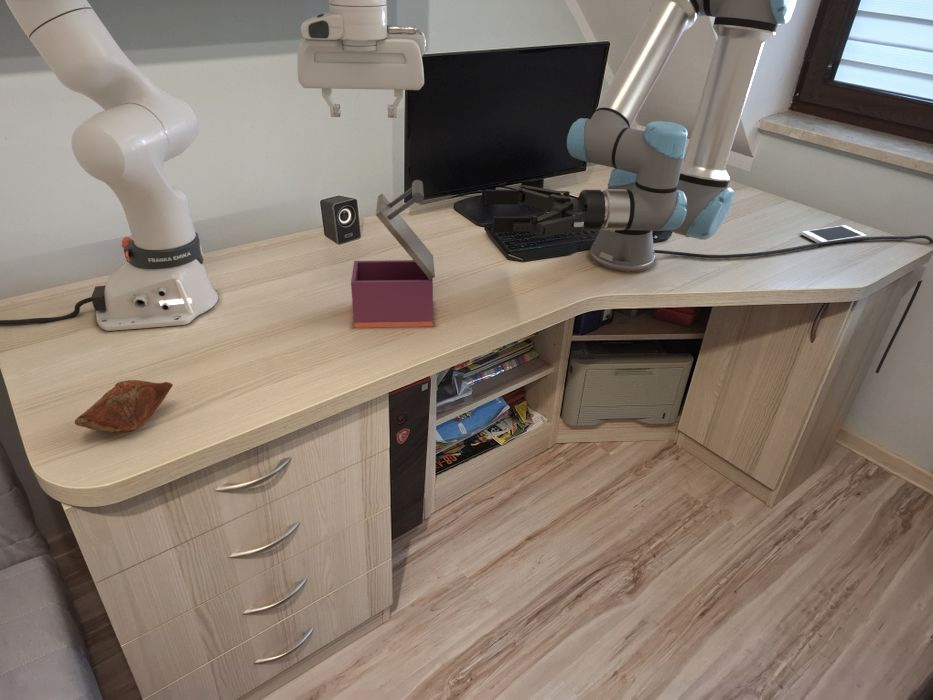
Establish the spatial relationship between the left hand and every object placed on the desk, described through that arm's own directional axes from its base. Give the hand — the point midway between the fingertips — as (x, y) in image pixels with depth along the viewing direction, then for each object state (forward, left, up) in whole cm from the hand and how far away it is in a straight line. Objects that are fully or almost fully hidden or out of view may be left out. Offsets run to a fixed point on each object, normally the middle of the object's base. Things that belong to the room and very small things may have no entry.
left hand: (364, 116), depth 107 cm
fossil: (-45, -19, -39) cm, 62 cm away
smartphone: (+125, -3, -39) cm, 131 cm away
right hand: (+21, -7, -16) cm, 27 cm away
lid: (+6, -2, -22) cm, 23 cm away
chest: (+4, -1, -39) cm, 39 cm away
